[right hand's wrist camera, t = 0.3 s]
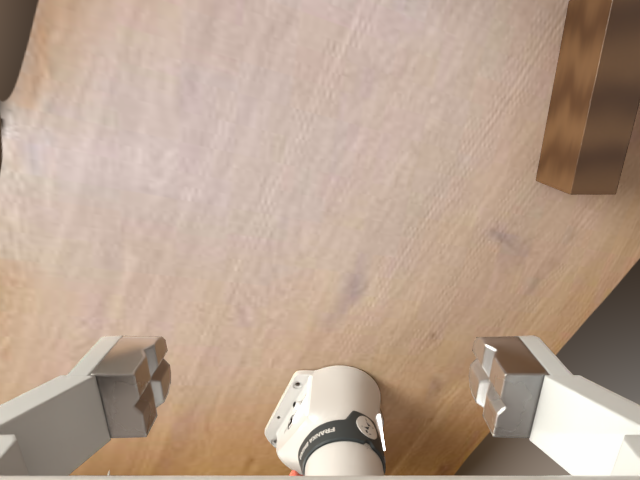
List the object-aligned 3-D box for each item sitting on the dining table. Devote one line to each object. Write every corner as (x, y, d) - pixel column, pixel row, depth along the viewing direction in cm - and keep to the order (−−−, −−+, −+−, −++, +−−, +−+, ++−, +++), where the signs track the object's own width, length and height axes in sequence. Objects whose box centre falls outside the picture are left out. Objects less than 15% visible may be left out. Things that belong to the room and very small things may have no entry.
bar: (568, 0, 49) (616, -18, 41) (614, 0, 48) (670, -18, 41) (535, 180, 56) (570, 194, 48) (574, 180, 56) (616, 194, 48)
